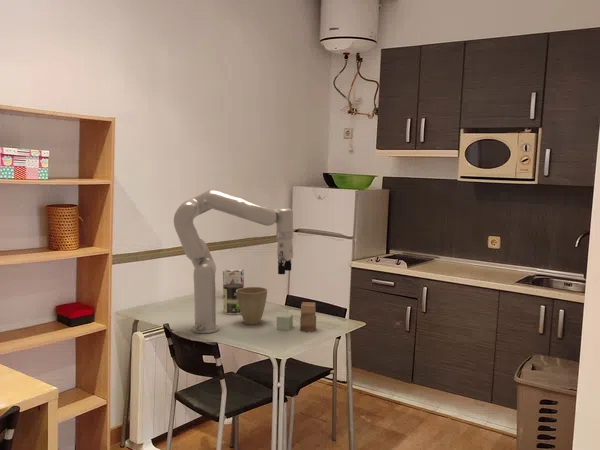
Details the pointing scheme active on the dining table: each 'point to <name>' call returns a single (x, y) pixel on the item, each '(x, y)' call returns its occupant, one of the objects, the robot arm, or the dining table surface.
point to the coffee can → (231, 299)
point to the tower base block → (307, 324)
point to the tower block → (308, 310)
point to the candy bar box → (233, 277)
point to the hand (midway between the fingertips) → (284, 272)
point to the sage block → (284, 322)
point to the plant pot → (252, 303)
